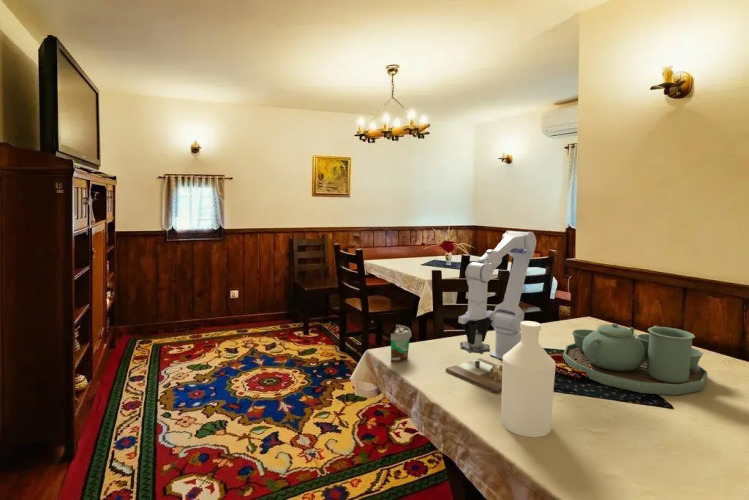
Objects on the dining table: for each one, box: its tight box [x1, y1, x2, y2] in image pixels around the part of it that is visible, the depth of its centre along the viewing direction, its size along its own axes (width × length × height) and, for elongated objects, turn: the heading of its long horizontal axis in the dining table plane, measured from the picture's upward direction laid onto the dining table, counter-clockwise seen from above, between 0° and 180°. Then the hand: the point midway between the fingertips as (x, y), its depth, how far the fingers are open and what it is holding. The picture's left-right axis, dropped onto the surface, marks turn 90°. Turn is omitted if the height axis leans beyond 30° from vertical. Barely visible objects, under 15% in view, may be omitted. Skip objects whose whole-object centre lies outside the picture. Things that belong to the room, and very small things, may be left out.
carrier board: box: [445, 357, 503, 395], centre depth 135 cm, size 16×20×4 cm
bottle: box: [500, 320, 557, 438], centre depth 104 cm, size 12×12×25 cm
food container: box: [390, 324, 412, 363], centre depth 149 cm, size 12×6×10 cm, turn 168°
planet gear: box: [459, 330, 491, 355], centre depth 139 cm, size 9×9×5 cm
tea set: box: [562, 322, 708, 396], centre depth 141 cm, size 40×40×16 cm
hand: (476, 342), depth 139 cm, fingers closed on planet gear, 4 cm apart
